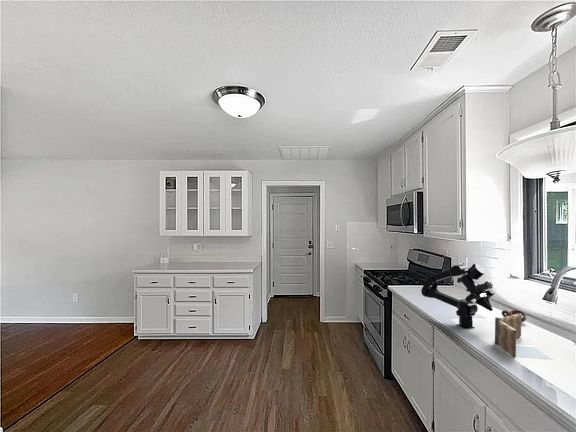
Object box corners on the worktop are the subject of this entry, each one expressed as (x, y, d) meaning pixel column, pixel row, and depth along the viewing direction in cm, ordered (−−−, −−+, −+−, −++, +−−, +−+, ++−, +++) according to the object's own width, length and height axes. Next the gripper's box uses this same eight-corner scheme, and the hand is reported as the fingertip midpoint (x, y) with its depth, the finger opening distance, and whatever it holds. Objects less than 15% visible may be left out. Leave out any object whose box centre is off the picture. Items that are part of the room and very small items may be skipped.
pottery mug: (525, 322, 199) (528, 312, 195) (521, 333, 193) (525, 322, 189) (501, 313, 206) (504, 303, 202) (497, 323, 200) (500, 313, 196)
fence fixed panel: (493, 342, 162) (494, 317, 162) (499, 343, 162) (499, 317, 162) (511, 356, 146) (511, 328, 146) (517, 357, 145) (517, 328, 146)
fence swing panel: (501, 343, 161) (501, 319, 161) (498, 342, 162) (498, 318, 162) (521, 336, 171) (521, 314, 171) (518, 335, 172) (518, 313, 172)
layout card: (491, 342, 163) (491, 342, 163) (530, 345, 161) (530, 344, 161) (508, 356, 146) (508, 356, 146) (552, 360, 144) (552, 359, 144)
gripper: (471, 277, 175) (493, 303, 165) (491, 274, 185) (513, 299, 175) (456, 289, 182) (476, 316, 172) (476, 286, 191) (497, 311, 182)
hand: (491, 310), depth 175 cm, fingers closed
